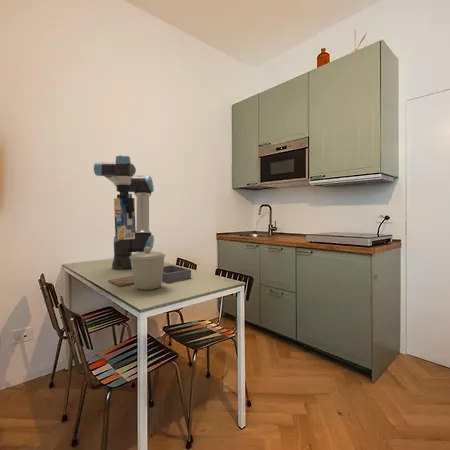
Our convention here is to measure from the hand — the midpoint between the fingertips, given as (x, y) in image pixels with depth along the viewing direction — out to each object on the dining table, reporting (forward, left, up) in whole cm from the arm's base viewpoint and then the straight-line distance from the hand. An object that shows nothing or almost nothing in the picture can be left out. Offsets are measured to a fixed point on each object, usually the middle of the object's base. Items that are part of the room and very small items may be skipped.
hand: (125, 224), depth 160 cm
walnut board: (0, 0, -32) cm, 32 cm away
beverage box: (0, 0, -8) cm, 8 cm away
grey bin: (+8, +23, -32) cm, 40 cm away
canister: (+19, +3, -32) cm, 37 cm away
